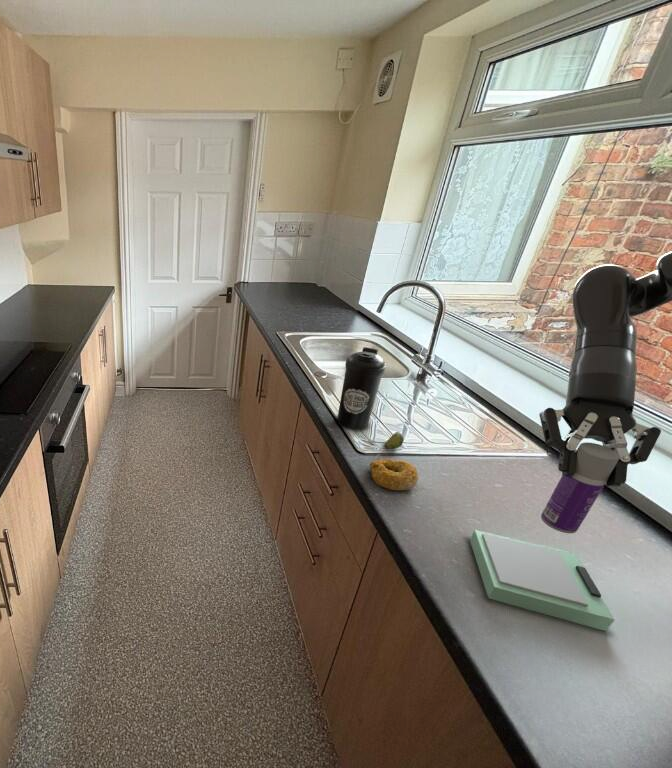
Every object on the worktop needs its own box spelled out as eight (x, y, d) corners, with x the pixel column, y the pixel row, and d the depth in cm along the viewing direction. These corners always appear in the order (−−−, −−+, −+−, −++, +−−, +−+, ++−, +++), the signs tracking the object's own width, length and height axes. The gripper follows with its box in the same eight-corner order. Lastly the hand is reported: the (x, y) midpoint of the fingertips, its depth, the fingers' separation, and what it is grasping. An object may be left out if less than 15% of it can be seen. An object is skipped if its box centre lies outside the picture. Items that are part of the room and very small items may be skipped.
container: (576, 538, 67) (621, 464, 60) (539, 523, 70) (578, 451, 63) (577, 522, 70) (620, 449, 63) (541, 508, 73) (579, 438, 66)
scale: (568, 564, 79) (577, 551, 77) (606, 631, 67) (616, 617, 66) (469, 540, 84) (475, 527, 83) (488, 598, 73) (495, 584, 71)
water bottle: (330, 424, 124) (344, 353, 113) (338, 410, 131) (353, 342, 121) (366, 435, 119) (385, 361, 108) (373, 419, 126) (391, 349, 116)
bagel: (389, 462, 107) (394, 447, 105) (425, 489, 98) (431, 473, 96) (357, 469, 105) (361, 454, 103) (391, 498, 95) (396, 482, 93)
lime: (384, 450, 112) (388, 435, 110) (381, 441, 116) (385, 426, 114) (402, 453, 111) (407, 438, 108) (399, 443, 115) (403, 428, 112)
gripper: (555, 363, 68) (541, 463, 64) (680, 381, 61) (673, 493, 57) (535, 379, 74) (522, 470, 70) (646, 397, 68) (638, 498, 64)
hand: (590, 480), depth 64 cm, fingers closed on container, 4 cm apart
